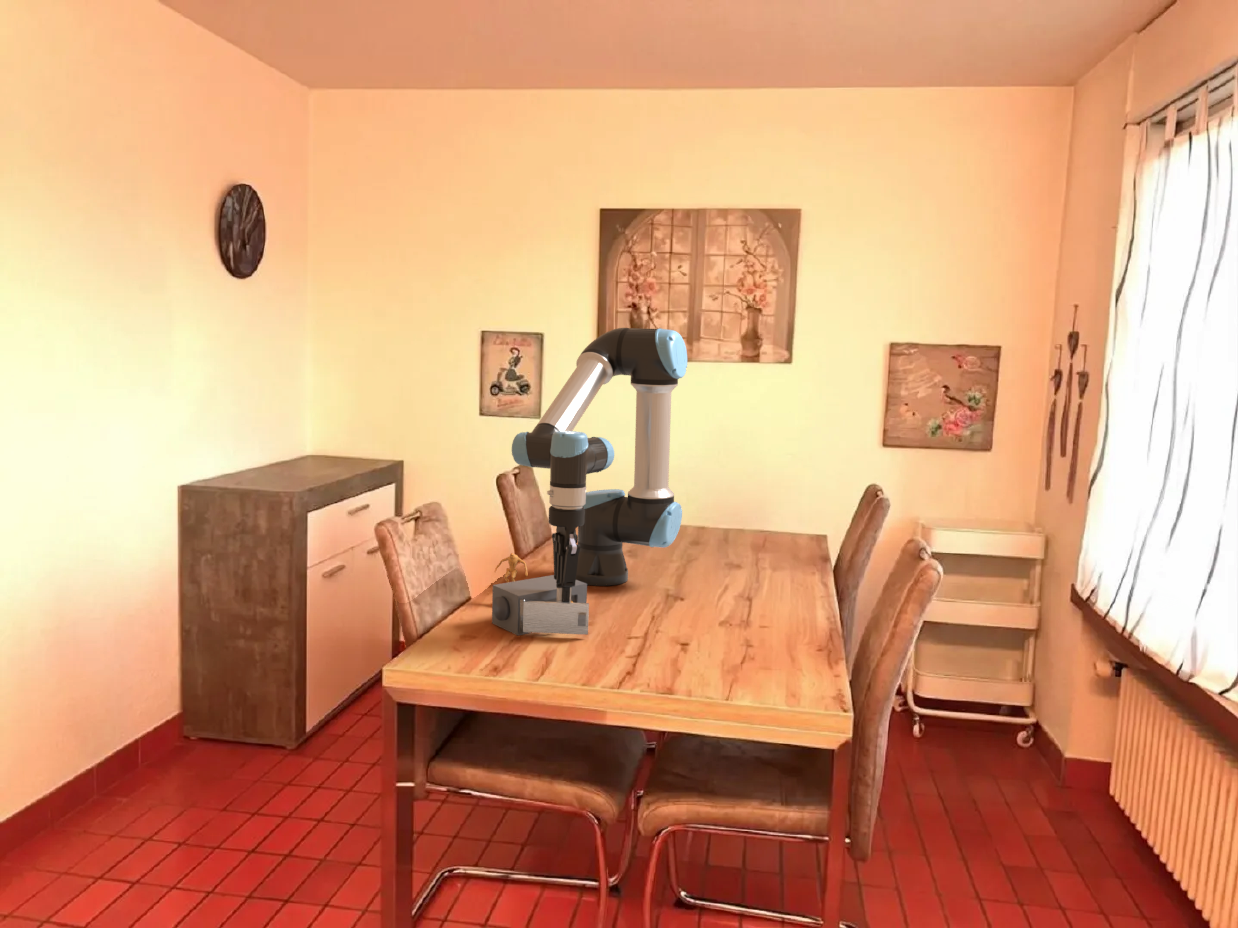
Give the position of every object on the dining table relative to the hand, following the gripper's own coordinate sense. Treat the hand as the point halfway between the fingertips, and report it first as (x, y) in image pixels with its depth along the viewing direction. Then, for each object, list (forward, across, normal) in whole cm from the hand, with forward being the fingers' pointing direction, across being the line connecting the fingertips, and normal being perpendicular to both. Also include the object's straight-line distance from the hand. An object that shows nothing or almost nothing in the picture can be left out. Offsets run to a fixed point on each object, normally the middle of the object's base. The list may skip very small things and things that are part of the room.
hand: (563, 616), depth 196 cm
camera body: (+4, -9, -3) cm, 10 cm away
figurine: (+4, -23, -6) cm, 24 cm away
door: (+3, +2, -3) cm, 5 cm away
